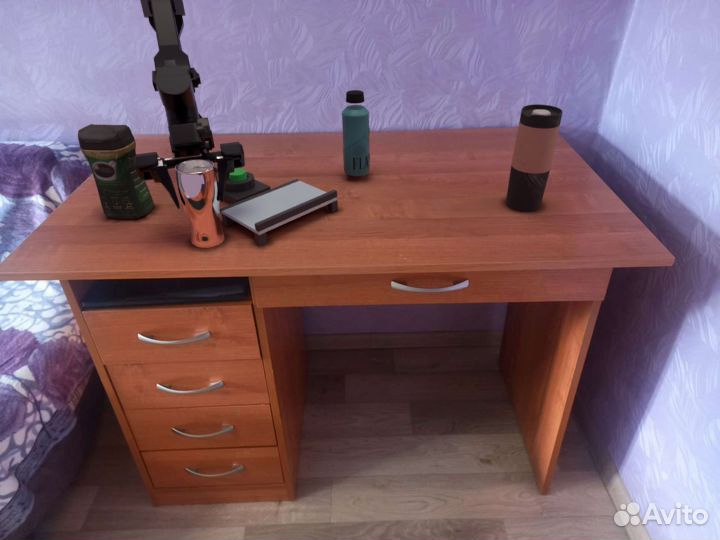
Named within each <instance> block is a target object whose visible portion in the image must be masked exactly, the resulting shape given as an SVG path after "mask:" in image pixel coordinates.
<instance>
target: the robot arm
mask: <svg viewBox="0 0 720 540" xmlns="http://www.w3.org/2000/svg"><path fill="white" fill-rule="evenodd" d="M139 2H140V5H141V10H142V14H143V17H144V18H145V19H148V23H149V26H151V28H152V30H153V31H154V32H155V35H156V41H157V47H158V51H157V53H156V54H155V55H154V56H153V64H154V65H153V66H154V70H151V83H152V87H153V89H154V92H158V95H159V98H160V100H161V103H162V106H163V107H164V110H165V117H166V123H167V130H168V133H169V135H168V136H169V137H168V140H169V146H170V150H171V153H172V154H173V156H171V157H159V154H158V152H157V151H152V152H143V153H136V155H135V157H134V159H133V160H134V166H135V169H136V171H137V173H138V175H139V176H140V178H141V180H145V181H153V182H154V183H155V184H161V185H162V186H163V188H164V189H165V190H166V191H167V192H168V194H169V196H170V198H171V199H172V202H173V203H174V205H175V207H176V208H177V209H178V210H179V209H181V205H180V200H179V197H178V195H177V192H176V189H175V186H174V183H173V180H172V177H171V175H170V172H169V170H171V169H175V166H176V165H177V164H179V163H181V162H183V161H187V160H192V159H205V160H209V161H212V162H213V163H214V164H216V167H215V171H216V172H217V179H218V183H219V194H220V203H223V202H224V201H225V200H224V194H225V187H226V183H227V180H228V177H229V174H230V173H233V172H234V171H235V169H236V168H244V167H245V166H246V161H245V160H246V159H245V151H244V146H243V144H242V143H240V142H239V141H233V142H223V143H219V148H220V150H218V151H213V149H215V148H216V147H215V141H214V137H213V130H212V129H211V126H210V125H211V124H210V121H209V117H208V116H207V117H203V116H202V115H201V114H200V113H199V109H198V104H197V100H196V95H195V93H196V89H197V88H199V85H202V81H201V76H200V73H199V72H197V70H196V68H195V67H191V63H190V59H189V58H190V57H189V55H188V54H187V53H186V52H185V51H184V50H183V48H182V43H181V42H182V41H181V36H182V34H183V31H184V27H185V22H184V17H186V16H187V15H186V11H185V10H186V9H185V6H184V0H139Z"/></svg>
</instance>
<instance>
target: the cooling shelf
mask: <svg viewBox="0 0 720 540" xmlns="http://www.w3.org/2000/svg"><path fill="white" fill-rule="evenodd" d="M338 203H339V202H338V191H337V190H336V189H332V190H329V191H324V190H322V189H320V188H318V187H315V186H313V185H311V184H309V183H307V182H304V181H301V180H300V179H298V178H296V179H293V180H290V181H288V182H286V183H283V184H280V185H278V186H275V187H273V188H271V189H270V190H267V191H265V192H262V193H260V194H257V195H254V196H252V197H249V198H247V199H244V200H241V201H239V202H236V203H234V204H229V205H226V206H224V207H221V208H219V214H220V215H221V219H222V224H223V225H226V226H230V225H232V224H234V223H235V222H236V223H237V224H239V225H241V226H243V227H244V228H246V229H248V230H250V231H251V232H253V234H254V239H255V244H256V245H258V246H260V247H262V246H264V245H266V244H268V237H267V232H269V231H272V230H274V229H276V228H278V227H280V226H283V225H285V224H287V223H289V222H291V221H294V220H297V219H298V218H301V217H302V216H305V215H307V214H309V213H311V212H314V211H316V210H318V209H321V208H323V207H325V206H326V207H327V211H328V212H330V213H332V214H333V213H335V212H337V211H338V210H339V205H338Z"/></svg>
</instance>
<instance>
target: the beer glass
mask: <svg viewBox="0 0 720 540" xmlns="http://www.w3.org/2000/svg"><path fill="white" fill-rule="evenodd" d="M215 168H216V167H215V163H213V162H212V161H209V160H205V159H192V160H187V161H183V162H181V163H179V164H177V165H176V166H175V168H174V170H175V179H176V186H177V191H178V196H179V198H180V201H181V204H182V207H183V210H184V212H185V214H186V217H187V219H188V221H189V225H190V232H191V235H190V237H191V238H190V240H191V244H192V245H193V246H194V247H197V248H201V249H210V248H214V247H217V246H219V245H220V244H223V242H224V241H225V234H224V231H223V229H222V225H221V222H220V220H221V219H220V209H221V208H220V207H221V205H220V204H221V199H220V194H219V185H218V174H217V171H215Z"/></svg>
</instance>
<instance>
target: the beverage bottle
mask: <svg viewBox="0 0 720 540" xmlns="http://www.w3.org/2000/svg"><path fill="white" fill-rule="evenodd" d="M345 102H346V103H347V104H350V105H347V106H345V108H343V110H342V111H341V123H342V124H341V125H342V156H343V159H342V160H343V172H344V173H345V175H348V176H351V177H361V176H365V175H368V174H369V173H370V168H371V154H370V150H371V148H370V142H371V141H370V122H371V121H370V110H369V109H367V107H366V106H365V105H361V104H362V103H364V102H365V93H364V91H363V90H360V89H351V90H348V91H346V93H345Z"/></svg>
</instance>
